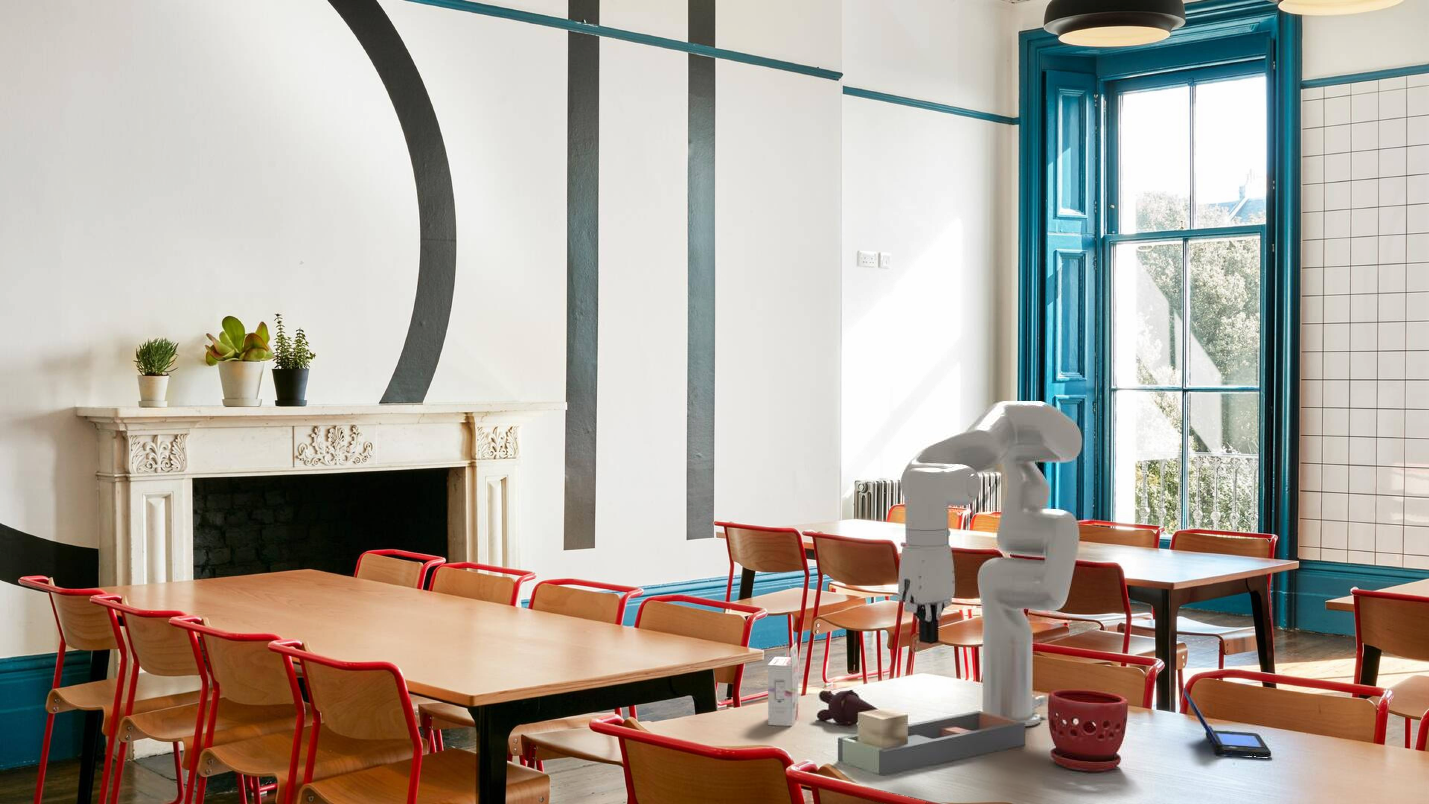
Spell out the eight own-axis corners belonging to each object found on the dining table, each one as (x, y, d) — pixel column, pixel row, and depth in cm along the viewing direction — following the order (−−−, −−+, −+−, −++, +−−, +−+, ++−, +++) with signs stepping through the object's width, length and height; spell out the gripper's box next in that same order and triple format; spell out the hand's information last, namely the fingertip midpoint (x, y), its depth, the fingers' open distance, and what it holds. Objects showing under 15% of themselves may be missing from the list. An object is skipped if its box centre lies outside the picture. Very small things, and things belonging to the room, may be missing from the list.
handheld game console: (1272, 761, 231) (1272, 708, 231) (1191, 756, 234) (1191, 703, 234) (1258, 739, 246) (1258, 689, 246) (1182, 735, 249) (1182, 685, 249)
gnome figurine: (892, 694, 253) (832, 689, 264) (868, 689, 248) (808, 685, 259) (889, 731, 251) (829, 725, 262) (865, 727, 246) (804, 721, 257)
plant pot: (1115, 779, 218) (1115, 706, 218) (1037, 768, 225) (1037, 697, 225) (1136, 762, 229) (1136, 692, 229) (1061, 751, 236) (1061, 683, 236)
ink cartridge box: (773, 715, 263) (774, 640, 263) (798, 716, 262) (799, 641, 262) (766, 725, 254) (767, 648, 254) (792, 726, 253) (792, 649, 253)
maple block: (883, 742, 231) (883, 708, 231) (907, 749, 227) (907, 714, 227) (857, 747, 228) (857, 712, 228) (882, 755, 223) (882, 719, 223)
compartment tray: (977, 732, 250) (977, 710, 250) (1025, 744, 240) (1025, 722, 240) (837, 760, 229) (837, 737, 229) (883, 775, 220) (884, 751, 220)
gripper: (941, 532, 241) (943, 633, 242) (881, 540, 232) (883, 644, 233) (972, 536, 235) (974, 639, 236) (911, 544, 226) (913, 651, 227)
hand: (928, 641), depth 234 cm, fingers closed
